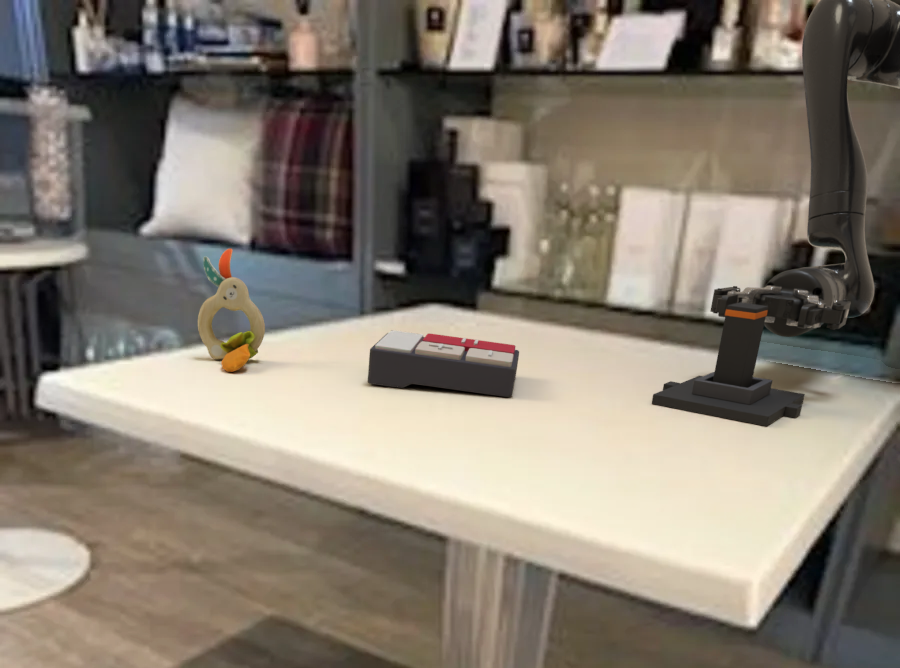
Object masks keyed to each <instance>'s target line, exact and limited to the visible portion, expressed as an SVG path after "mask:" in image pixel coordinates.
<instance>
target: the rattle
mask: <svg viewBox="0 0 900 668" xmlns="http://www.w3.org/2000/svg"><path fill="white" fill-rule="evenodd" d="M232 256H233V248H227V249H225V250H224V251H223V253H222V254H221V255H220V258H219V260H218V270H217V269H216V268H215V267H214V265H213V264H212V262H211V260H210V257H208V256H207V255H205V256H203V260H202V261H203V262H202V263H203V264H202V265H203V270H204V273H205V275H206V278H207V279H208V281H209V282H211V284H213V285H214V286H216V287H217V290H216V293H215V294H213V295H212V296H210V297H208V298H207V299H205V300H204V302H203V303H202V304H201V306H200V308H199V312H198V316H197V329H198V334H199V337H200V340H201V341H202V343H203V345H204V346H205V347H206V349H207V353H208V354H209V356H210V358H211V359H213V360H221V362H220V364H221V367H222V369H223V370H224V371H226V372H228V373H232V372H233V373H234V372H237V371H239V370H240V369H242V368H243V367H244V366H245V365H246V364H247V363H248V361H249V360H250V359H252V358H253V357H254V356H256V355H258V353H259V348H260V346H261V345H262V342H263V340H264V337H265V333H266V325H265V320H264V316H263V314H262V312H261V310H260V309H259V308H258V306H257V305H256V304H255V303H254V302H253V301H252V300H251V298H250V293H249V289H248V286H247V285H246V283H245V282H244V281H243V280H242V279H241V278H239V277H234V276H232V271H231V259H232ZM223 308H224V309H226V310H228V311H232V312H236V311H241V312H243V313H244V315H245V317H246V318H247V320H248V322H249V329H250V330H247V331H245V332H242V331H240V332H238V333H235V334H234V335H231V336H230V337H229V339H227V341H224V340H221V339H219V338H217V337H216V335H215V333H214V329H213V320H214V317H215V316H216V314H217V313H218V312H219V311H220V310H221V309H223Z"/></svg>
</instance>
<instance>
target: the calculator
mask: <svg viewBox="0 0 900 668" xmlns="http://www.w3.org/2000/svg"><path fill="white" fill-rule="evenodd" d="M519 357H520V350H519V349H516V345H514V344H510V343H502V342H496V341H495V342H494V341H487V340H481V339H474V338H473V339H472V338H467V337H458V336H451V335H444V334H436V333H427V334H426V335H425V336H424V334H423V333H416V332H410V331H401V330H396V329H395V330H394V329H391V330H390V331H389V332H387V333H385V334H384V335H383V336H382V337H381V338H380V339H379V340H378V341H377V342H376V343H375V344H374V345H372V346H371V348H370V349H369V357H368V369H367V371H368V372H367V383H368V384H370V385H377V386H383V387H391V388H399V389H404V388H405V387H408V386H410V385H419V386H426V387H431V388H432V387H433V388H439V389H440V388H441V389H447V390H454V391H461V392H469V393H475V394H476V393H477V394H482V395H483V394H484V395H490V396H496V397H505V398H511V397H512V396H513V394H514V393H513V392H514V387H515V382H516V376H517V371H518V363H519Z"/></svg>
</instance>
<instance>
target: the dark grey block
mask: <svg viewBox="0 0 900 668" xmlns="http://www.w3.org/2000/svg"><path fill="white" fill-rule="evenodd" d="M767 308H768V306H763V305H756V304H748V303H741V302H740V303H736V304H731V305H728V306H727V309H726V312H725V317H724V322H723V327H722V330H721V331H722V332H721V335H720V336H721V337H720V341H719V345H718V348H719V349H718V351H717V352H718V353H717V358H716V362H715V367H714V368H715V369H714V371H713V372H714V377H713V382H717V383H723V384H728V385H734V386H740V387H745V388H749V387H751V383H752V379H753V377H754V373H755V369H756V364H757V359H758V355H759V350H760V345H761V340H762V337H763V331H764V327H765V325H764V322H765V318H766V316H767V312H768V310H767Z"/></svg>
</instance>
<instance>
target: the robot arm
mask: <svg viewBox="0 0 900 668" xmlns="http://www.w3.org/2000/svg"><path fill="white" fill-rule="evenodd" d="M801 45H802V46H801V61H802V76H803V85H804V86H803V87H804V96H805V111H806V119H807V129H808V130H807V131H808V140H809V141H808V142H809V152H810V153H809V155H810V181H809V183H810V184H809V199H808V212H807V227H806V228H807V229H806V238H807V242H808V243H809V245H811V246H812V247H814V248H819V249H827V250H829V249H830V250H836V251H837V250H838V251H840V252H842V253H843V254H844V258H845V260H844V261H845V262H842V263H833V264H824V265H816V266H806V267H799V268H793V269H787V270H784V271H782V272H780V273H777V274H776V275H774V276H772V277H771V278H770V279H769V280H768V282H767V283H766V284H765V285H764V287H750V286H749V287H748V286H747V287H745V288H744V289H743V290H742V291H741V287H738V286H737V285H733V286H728V287H722V288H719V287H718V288H714V290H713V293H712V295H713V296H712V299H711V300H712V301H711V304H710V305H711V306H710V312H711V313H713V314H716V315H717V314H718V315H717V316H718V318H725V312H726V309H727V306H728V305H731V304H736V303H740V302H741V303H748V304H756V305H763V306H768V308H767V310H768V312H767V316H766V318H765V322H764V327H765V328H766V329H767V330H768V331H769V332H771V333H773V334H774V335H776V336H780V337H784V338H790V337H798V336H801V335H803V334H806V333H808V332H811V331H813V330H816V329H817V328H821V326H822V325H824V324H827V326H826V328H828V329H830V330H833V331H836V330H839V329H841V328H842V327H843V326H845V325H846V323H847V320H848V319H850V318H852V319H853V318H856V317H860V316H862V315H863V314H864V313H866V311H868V309H869V308H870V306H871V305H872V302H873V300H874V296H875V282H874V276H873V273H872V268H871V265H870V260H869V256H868V251H867V244H866V233H865V231H866V230H865V229H866V228H865V227H866V226H865V223H866V211H867V194H868V171H867V165H866V160H865V156H864V152H863V149H862V147H861V144H860V140H859V137H858V134H857V132H856V129H855V126H854V122H853V118H852V115H851V114H852V113H851V109H850V105H849V95H848V81H851V82H860V83H871V84H877V85H882V86H887V87H891V88H895V89H897V90H898V89H899V90H900V4H898V3H896V2H894V1H892V0H819V1H818V2H817V3H816V5H815V6H814V7H813V9H812V11H811V12H810V15H809V17H808V18H807V22H806V25H805V28H804V32H803V37H802V43H801Z"/></svg>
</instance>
